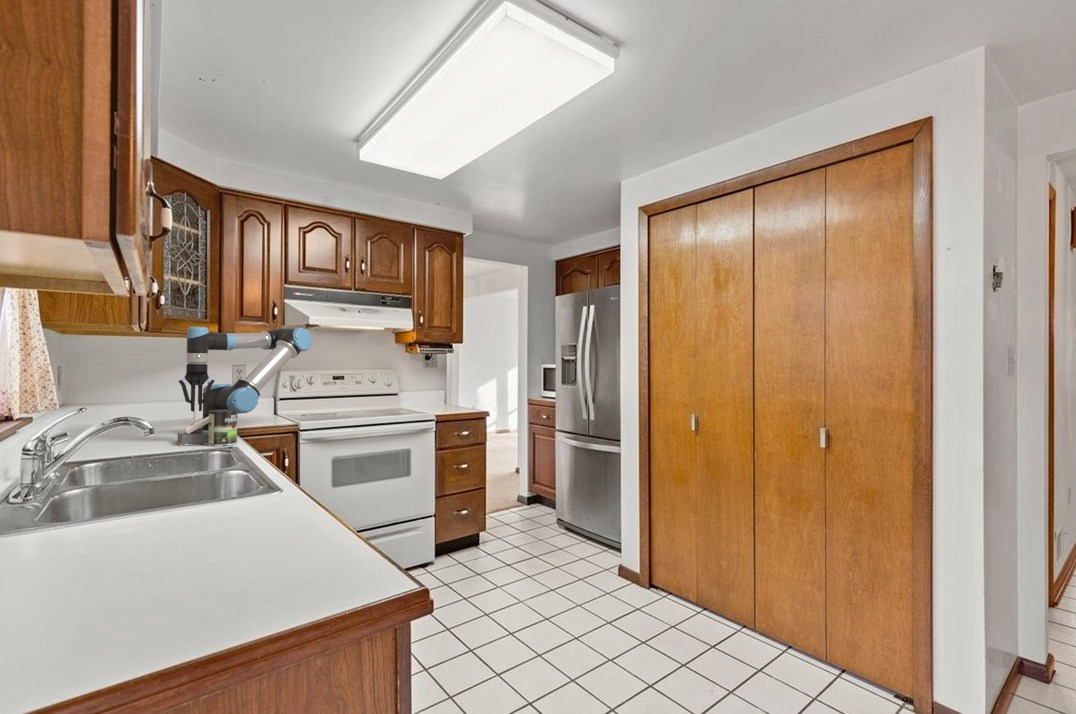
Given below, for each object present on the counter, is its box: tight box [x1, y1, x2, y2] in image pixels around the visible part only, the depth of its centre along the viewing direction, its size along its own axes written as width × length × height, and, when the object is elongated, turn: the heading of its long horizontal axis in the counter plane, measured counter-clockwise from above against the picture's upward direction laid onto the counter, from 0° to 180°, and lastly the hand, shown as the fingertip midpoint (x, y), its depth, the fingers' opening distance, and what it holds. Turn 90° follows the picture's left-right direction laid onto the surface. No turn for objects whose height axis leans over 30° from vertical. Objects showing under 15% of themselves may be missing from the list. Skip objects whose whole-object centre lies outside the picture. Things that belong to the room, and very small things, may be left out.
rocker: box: [183, 416, 209, 434], centre depth 217 cm, size 4×10×2 cm, turn 131°
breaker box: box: [177, 428, 209, 446], centre depth 219 cm, size 13×12×6 cm
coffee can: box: [207, 409, 238, 447], centre depth 214 cm, size 10×10×14 cm
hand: (196, 419), depth 221 cm, fingers closed
